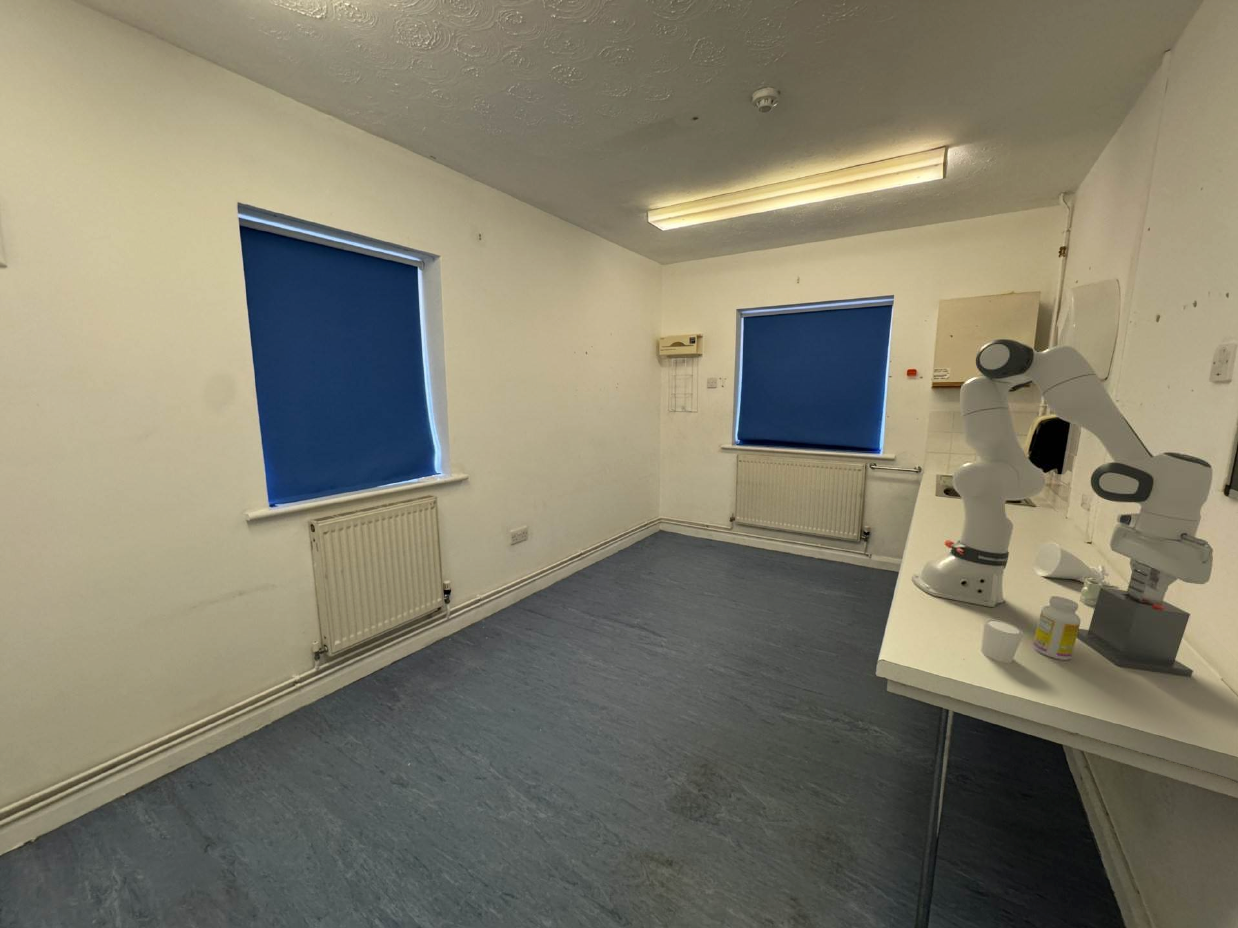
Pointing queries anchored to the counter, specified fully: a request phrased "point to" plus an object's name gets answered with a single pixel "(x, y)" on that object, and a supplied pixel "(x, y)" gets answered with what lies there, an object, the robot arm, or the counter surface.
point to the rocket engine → (1065, 565)
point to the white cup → (1000, 640)
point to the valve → (1090, 592)
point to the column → (1144, 585)
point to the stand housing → (1137, 633)
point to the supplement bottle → (1057, 628)
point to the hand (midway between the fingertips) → (1147, 585)
